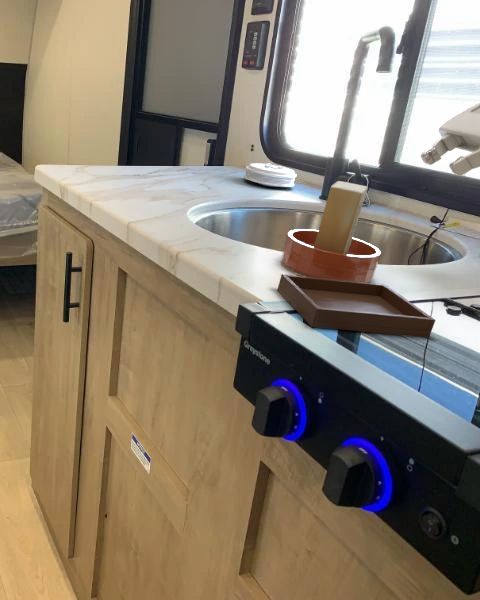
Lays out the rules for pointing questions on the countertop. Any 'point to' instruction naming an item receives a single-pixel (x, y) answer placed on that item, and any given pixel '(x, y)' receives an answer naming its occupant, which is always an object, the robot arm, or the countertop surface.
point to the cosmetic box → (340, 217)
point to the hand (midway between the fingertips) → (438, 165)
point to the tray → (354, 306)
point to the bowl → (329, 258)
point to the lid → (270, 175)
